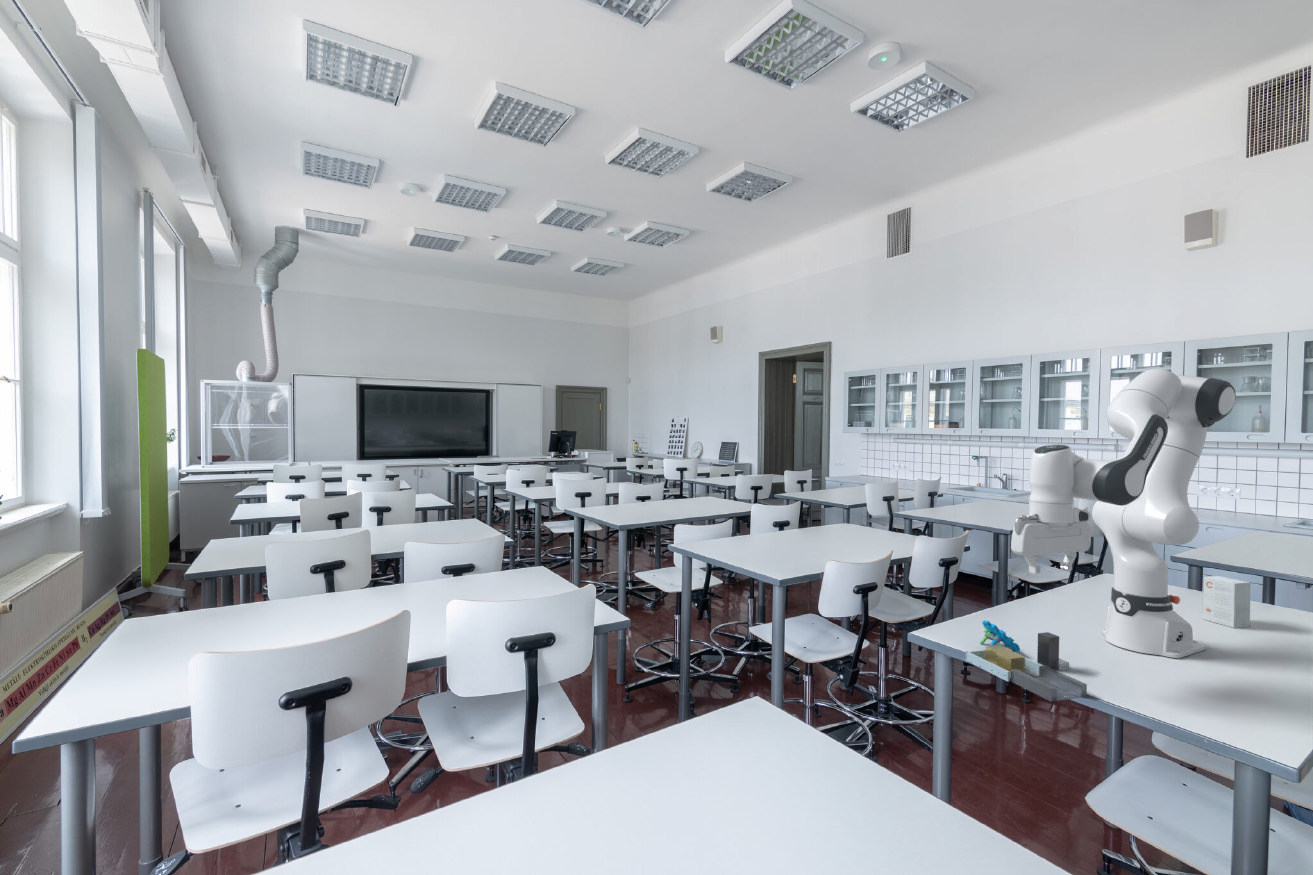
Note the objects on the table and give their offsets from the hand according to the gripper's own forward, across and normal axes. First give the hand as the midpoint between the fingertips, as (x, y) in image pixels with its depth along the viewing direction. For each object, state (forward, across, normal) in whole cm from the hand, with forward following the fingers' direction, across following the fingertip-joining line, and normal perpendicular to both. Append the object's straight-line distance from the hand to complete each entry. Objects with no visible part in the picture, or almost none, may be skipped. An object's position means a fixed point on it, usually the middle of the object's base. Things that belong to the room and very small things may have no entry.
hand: (1050, 571), depth 138 cm
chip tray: (+23, -11, +2) cm, 26 cm away
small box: (+25, +81, +13) cm, 85 cm away
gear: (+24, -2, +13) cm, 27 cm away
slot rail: (+23, -11, -9) cm, 27 cm away
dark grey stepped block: (+23, +1, 0) cm, 23 cm away
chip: (+23, -11, 0) cm, 25 cm away
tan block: (+23, -10, +4) cm, 25 cm away
